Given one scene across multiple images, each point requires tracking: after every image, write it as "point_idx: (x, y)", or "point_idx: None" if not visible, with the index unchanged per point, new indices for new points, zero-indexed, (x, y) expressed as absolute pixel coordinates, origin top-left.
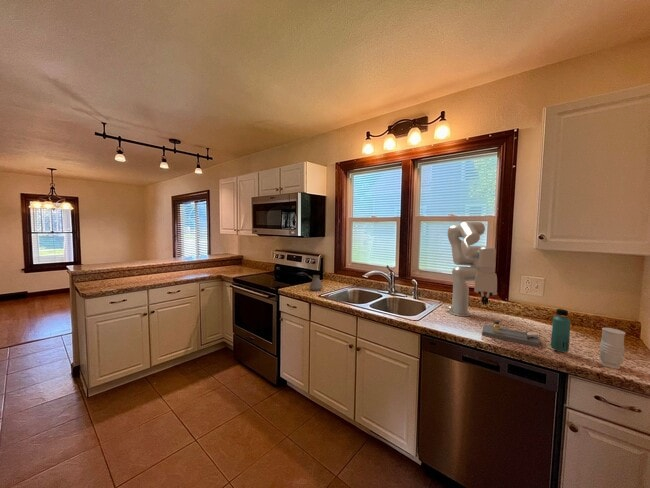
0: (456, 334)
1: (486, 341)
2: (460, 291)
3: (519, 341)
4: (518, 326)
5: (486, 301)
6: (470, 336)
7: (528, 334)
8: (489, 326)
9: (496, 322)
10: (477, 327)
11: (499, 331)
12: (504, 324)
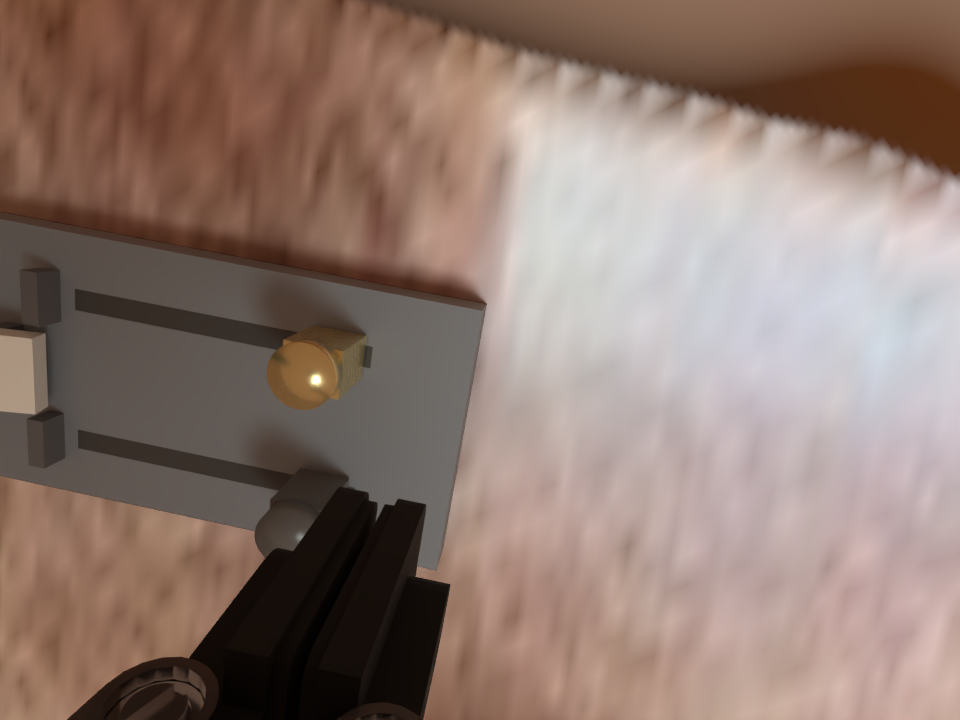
0: (786, 179)
1: (464, 111)
2: None
3: (145, 242)
4: None
5: (299, 558)
6: (623, 192)
7: (18, 342)
8: None
9: (294, 505)
10: (505, 529)
11: None
12: None
